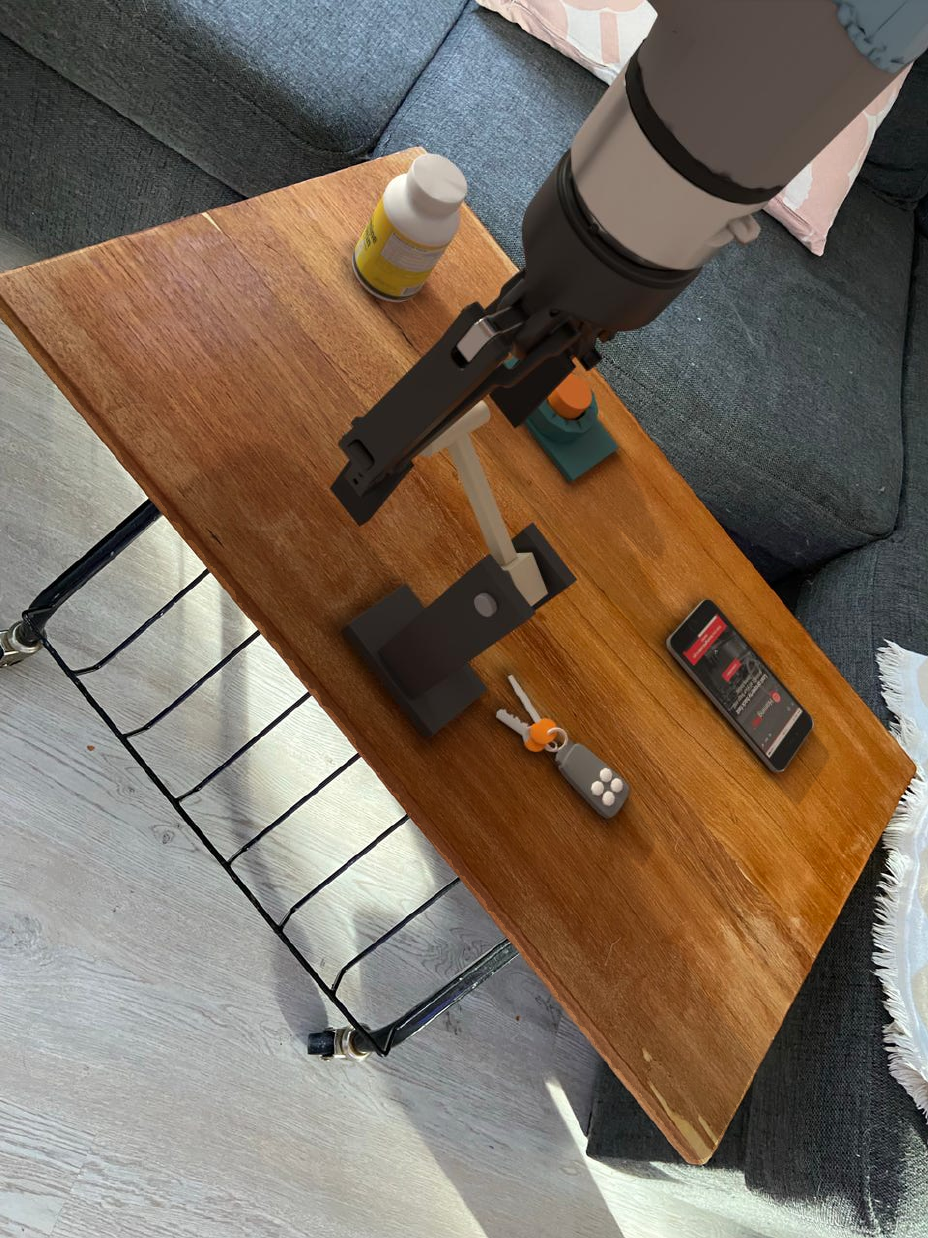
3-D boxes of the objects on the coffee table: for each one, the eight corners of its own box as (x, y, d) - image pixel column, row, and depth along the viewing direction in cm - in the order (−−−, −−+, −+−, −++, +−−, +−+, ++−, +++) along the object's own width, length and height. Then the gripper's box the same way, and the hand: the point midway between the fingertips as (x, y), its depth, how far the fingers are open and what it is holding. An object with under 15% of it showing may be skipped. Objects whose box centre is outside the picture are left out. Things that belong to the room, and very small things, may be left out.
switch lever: (404, 436, 55) (431, 431, 53) (463, 402, 58) (490, 396, 56) (483, 622, 59) (510, 623, 57) (534, 582, 62) (562, 582, 60)
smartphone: (708, 595, 87) (816, 722, 87) (703, 598, 88) (811, 725, 88) (666, 642, 83) (780, 775, 83) (661, 644, 84) (774, 777, 84)
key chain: (626, 787, 77) (637, 784, 76) (604, 823, 75) (615, 820, 74) (508, 675, 76) (517, 669, 75) (482, 708, 74) (491, 702, 73)
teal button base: (485, 375, 86) (498, 359, 84) (534, 347, 90) (548, 330, 87) (569, 484, 86) (584, 470, 83) (615, 450, 89) (631, 437, 87)
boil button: (538, 392, 85) (548, 381, 83) (563, 377, 87) (574, 366, 85) (564, 425, 85) (574, 415, 83) (588, 409, 87) (599, 399, 85)
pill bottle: (378, 230, 86) (432, 130, 76) (432, 283, 87) (493, 190, 77) (334, 264, 82) (385, 163, 73) (391, 318, 83) (449, 226, 73)
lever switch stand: (340, 630, 71) (443, 526, 56) (398, 590, 74) (510, 481, 59) (425, 740, 71) (550, 664, 56) (479, 694, 74) (611, 612, 59)
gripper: (504, 388, 34) (314, 609, 51) (833, 194, 47) (594, 420, 65) (370, 216, 34) (226, 495, 51) (737, 72, 47) (525, 331, 65)
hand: (432, 454), depth 58 cm, fingers open, 13 cm apart
